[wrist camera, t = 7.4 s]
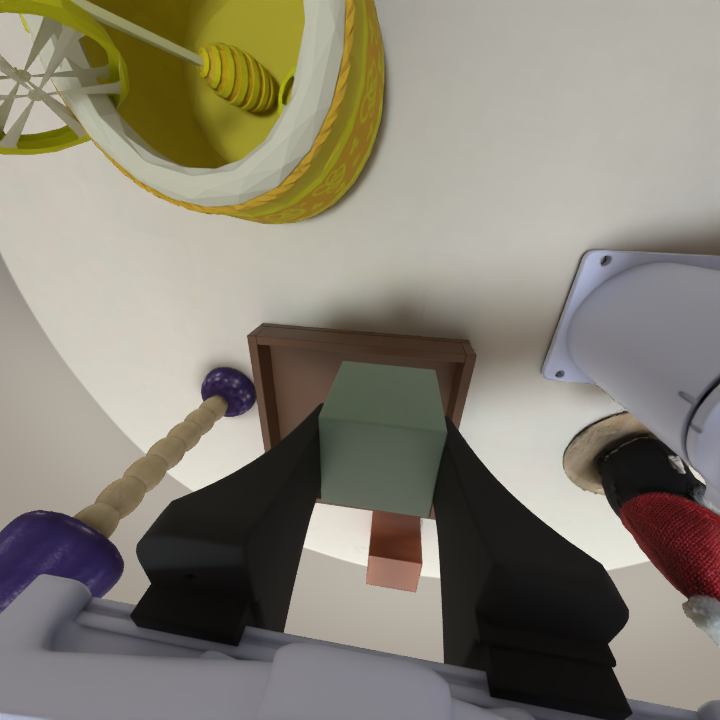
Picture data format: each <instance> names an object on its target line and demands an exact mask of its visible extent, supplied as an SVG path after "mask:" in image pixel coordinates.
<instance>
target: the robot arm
mask: <svg viewBox="0 0 720 720" xmlns="http://www.w3.org/2000/svg"><path fill="white" fill-rule="evenodd" d="M604 256H607V260H606V262H605V263H603V264H601V263H600V261H601V259H602V258H603V257H604ZM558 371H561V373H560V374H558V375H556V373H557V372H558ZM541 374H542V376H543V377H544V378H545V379H548V380H556V381H567V382H578V383H589V384H597V385H598V386H600V387H601V388H602V389H603V390H604V391H605V392H606V393H608V394H609V395H610V396H611V397H612V398H613V399H614V400H616V401H617V402H618V403H619V404H620V405H621V406H622V407H624V408H625V409H626V410H627V411H628V412H629V413H630V414H632V415H633V416H634V417H635V418H636V419H637V420H638V421H640V422H641V423H642V424H643V425H644V426H645V427H646V428H648V429H649V430H650V431H651V432H652V433H653V434H654V435H655V436H657V437H658V438H659V439H660V440H661V441H662V442H663V443H665V444H666V445H667V446H668V447H669V448H670V449H671V450H673V451H674V452H675V453H676V454H677V455H678V456H679V457H681V458H682V459H683V460H684V461H685V462H686V463H687V464H689V465H690V466H691V467H692V468H693V469H694V470H696V471H697V472H698V473H699V474H700V475H701V476H702V477H703V479H704V480H705V483H706V491H705V494H704V496H705V497H706V498H707V499H708V500H709V501H710V502H711V503H712V504H713V505H714V506H715V507H716V508H717V509H718V510H719V511H720V256H718V255H698V254H678V253H657V252H637V251H617V250H597V249H596V250H591V251H589V252H587V253H586V254H585V255H584V257H583V258H582V261H581V264H580V266H579V269H578V272H577V275H576V277H575V280H574V283H573V285H572V288H571V291H570V294H569V296H568V299H567V302H566V305H565V307H564V310H563V313H562V315H561V318H560V321H559V324H558V326H557V329H556V332H555V334H554V337H553V340H552V343H551V345H550V348H549V351H548V353H547V356H546V359H545V362H544V364H543V367H542V370H541ZM323 405H324V403H321V404H319V405H318V406H317V407H316V408H315V409H314V410H313V411H312V412H311V413H310V414H309V415H308V416H307V417H306V418H305V419H304V420H303V421H302V422H301V423H300V424H299V425H298V426H297V427H296V428H295V429H294V430H293V431H292V432H291V433H289V434H288V435H287V436H286V437H285V438H284V439H282V440H281V441H280V442H279V443H278V444H276V445H275V446H274V447H272V448H271V449H270V450H269V451H267V452H266V453H264V454H263V455H262V456H260V457H259V458H257V459H256V460H254V461H252V462H251V463H249V464H247V465H246V466H244V467H242V468H241V469H239V470H237V471H236V472H234V473H232V474H230V475H228V476H227V477H225V478H223V479H221V480H219V481H217V482H215V483H213V484H211V485H209V486H206V487H204V488H202V489H200V490H197V491H195V492H193V493H190V494H188V495H186V496H183V497H181V498H178V499H176V500H173V501H172V502H171V503H170V504H169V505H168V506H167V507H166V509H165V510H164V511H163V512H162V513H161V514H160V516H159V517H158V518H157V519H156V521H155V522H154V523H153V525H152V526H151V527H150V528H149V530H148V531H147V532H146V534H145V535H144V536H143V538H142V539H141V540H140V541H139V542H138V544H137V548H136V554H137V557H138V560H139V562H140V564H141V566H142V567H143V569H144V571H145V573H146V575H147V576H148V578H149V580H150V582H151V585H150V586H149V588H148V589H147V591H146V592H145V594H144V595H143V597H142V598H141V600H140V601H139V603H138V604H137V605H133V604H128V603H122V602H117V601H112V600H107V599H101V598H96V597H92V595H91V592H90V590H89V589H88V588H87V587H86V586H85V585H84V584H83V583H81V582H79V581H77V580H73V579H69V578H63V577H58V576H52V575H47V574H42V575H39V576H38V577H37V578H36V579H35V580H34V581H33V582H32V583H31V584H30V585H29V586H28V587H27V588H26V589H25V590H24V591H23V592H22V593H21V594H20V595H19V596H18V597H17V598H16V599H15V600H14V601H13V602H12V603H11V604H10V605H9V606H8V607H7V608H6V609H5V610H4V611H3V612H2V613H1V614H0V720H720V700H715V701H709V702H706V703H704V704H703V705H701V707H699V708H698V710H697V712H696V711H691V710H685V709H680V708H674V707H670V706H664V705H659V704H654V703H648V702H643V701H638V700H633V699H628V698H626V697H625V695H624V693H623V691H622V689H621V686H620V684H619V682H618V680H617V678H616V676H615V674H614V671H613V669H612V667H615V666H616V660H615V658H614V656H613V654H612V652H611V650H610V648H609V645H608V643H609V642H610V641H611V640H612V639H613V638H614V637H615V636H616V635H617V634H618V633H619V632H620V631H621V630H622V629H623V628H624V626H625V624H626V623H627V621H628V619H629V609H628V608H627V606H626V604H625V602H624V601H623V599H622V597H621V595H620V593H619V592H618V590H617V588H616V586H615V584H614V582H613V581H612V579H611V578H610V576H609V575H608V573H607V571H606V570H605V568H604V567H603V565H602V564H601V563H599V562H598V561H596V560H595V559H594V558H592V557H591V556H589V555H588V554H586V553H585V552H583V551H582V550H581V549H579V548H578V547H576V546H575V545H573V544H572V543H570V542H569V541H568V540H566V539H565V538H564V537H562V536H561V535H560V534H558V533H557V532H556V531H554V530H553V529H552V528H551V527H549V526H548V525H547V524H545V523H544V522H543V521H542V520H540V519H539V518H538V517H537V516H536V515H534V514H533V513H532V512H531V511H530V510H529V509H527V508H526V507H525V506H524V505H523V504H522V503H521V502H520V501H518V500H517V499H516V498H515V497H514V496H513V495H512V494H511V493H510V492H509V491H508V490H507V489H506V488H505V487H504V486H503V485H502V484H501V483H500V482H499V481H498V480H497V479H496V478H495V477H494V476H493V475H492V474H491V472H490V471H489V470H488V469H487V468H486V467H485V465H484V464H483V463H482V462H481V461H480V459H479V458H478V457H477V456H476V454H475V453H474V452H473V450H472V449H471V448H470V446H469V445H468V444H467V442H466V441H465V439H464V438H463V437H462V435H461V434H460V432H459V431H458V429H457V428H456V426H455V425H454V423H453V422H452V420H451V419H450V417H448V416H444V417H445V422H446V427H447V437H446V442H445V446H444V451H443V455H442V460H441V464H440V469H439V473H438V478H437V482H436V487H435V492H434V496H433V507H434V513H435V519H436V525H437V534H438V545H439V560H440V577H441V596H442V618H443V646H444V664H443V663H438V662H433V661H427V660H422V659H417V658H412V657H407V656H401V655H396V654H391V653H385V652H380V651H375V650H370V649H365V648H359V647H354V646H349V645H343V644H338V643H333V642H328V641H322V640H317V639H312V638H307V637H301V636H296V635H291V634H285V633H284V628H285V623H286V619H287V614H288V609H289V605H290V600H291V596H292V591H293V587H294V583H295V578H296V574H297V570H298V566H299V561H300V557H301V553H302V549H303V545H304V541H305V537H306V533H307V529H308V525H309V521H310V518H311V514H312V511H313V508H314V505H315V502H316V500H317V497H318V494H319V491H320V489H321V466H320V439H319V419H318V417H319V415H320V412H321V410H322V408H323Z"/></svg>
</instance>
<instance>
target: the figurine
mask: <svg viewBox="0 0 720 720" xmlns="http://www.w3.org/2000/svg"><path fill="white" fill-rule="evenodd" d="M615 415H616V414H614V415H613V416H612V417H611V416H610V417H611V418H609V419H606V420H604V421H602V422H599V423H597V424H595V425H593V426H592V427H590V428H588V429H587V430H585V431H584V432H582V433H581V434H580V435H579V436H578V437H577V438H576V439H575V440H573V442H572V443H571V444H570V445H569V447H568V449H567V451H566V453H565V456H564V470H565V472H566V474H567V476H568V478H569V479H570V480H571V481H572V482H573V483H574V484H576V485H577V486H579V487H581V489H582V488H583V489H582V490H584V489H585V490H584V491H586V490H587V491H590V492H593V493H594V494H601V495H605V496H606V498H607V500H608V502H609V504H610V506H611V508H612V509H613V510H614V512H615V513H616V515H617V516H618V517H619V518H620V519H621V521H622V524H623V525H624V526H625V528H626V529H627V530H628V531H629V532H630V533H631V534H632V535H633V537H634V539H635V541H636V542H637V544H638V545H639V547H640V548H641V549H642V551H643V552H644V553H645V554H646V555H647V557H648V558H649V559H650V560H651V562H652V563H653V564H654V566H655V567H656V568H657V569H658V570H659V571H660V572H661V573H662V574H663V575H664V577H665V578H666V579H667V580H668V581H669V582H670V583H671V584H672V585H673V586H674V587H675V588H676V589H677V590H678V591H680V592H681V593H682V594H683V595H684V596H686V597H687V598H688V601H687V602H685V603H683V605H682V606H683V610H684V613H685V614H686V616H687V617H689V618H691V619H692V621H693V622H694V623H695V625H696V626H697V627H699V628H700V629H702V630H704V631H705V632H706V633H707V634H708V635H709V636H710V638H711V639H712V640H713V641H714V642H715V643H716V645H717V646H718V647H719V648H720V511H719V510H718V509H717V508H716V507H715V506H714V505H713V504H712V503H711V502H710V501H709V500H708V499H707V498H706V497H705V496H704V494H705V491H706V485H704V484H703V483H702V482H700V481H699V480H697V479H696V478H695V477H694V475H693V474H692V472H691V471H690V469H689V464H687V463H686V462H685V461H684V460H683V459H682V458H681V457H679V456H678V455H677V454H676V453H675V452H674V451H673V450H671V449H670V448H669V447H668V446H667V445H666V444H665V443H663V442H662V441H661V440H660V439H659V438H658V437H657V436H655V435H654V434H653V433H652V432H651V431H650V430H649V429H648V428H646V427H645V426H644V425H643V424H642V423H641V422H640V421H638V420H637V419H636V418H635V417H634V416H633V415H632V414H630V413H629V412H625V413H624V412H623V413H620V414H618V416H615ZM614 416H615V417H614ZM586 428H587V427H586Z"/></svg>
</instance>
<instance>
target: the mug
mask: <svg viewBox="0 0 720 720" xmlns="http://www.w3.org/2000/svg"><path fill="white" fill-rule="evenodd" d="M4 12H8V13H19V14H20V17H21V19H22V22H23V24H24V27H25V30H26V31H27V32H28V33H30V35H31V37H32V40H33V42H34V45H33V47H32V50H31V53H30V55H29V58H28V61H27V64H26V66H25V69H24V71H23V70H20V69H19V70H17V68H15V69H14V68H13V67H12V66H11V65H10V64H9V63H8V62H7V61H6V60H5V59H4V58H3V57H2V56H1V55H0V71H2V72H3V73H5V74H6V75H8V76H0V80H1V79H9V78H12V79H14V80H15V81H17V84H16V85H15V87H14V88H13V89H12V91H11V92H10V94H9V95H0V100H5V101H4V102H3V104H2V105H1V106H0V154H12V155H34V154H42V153H50V152H57V151H60V150H63V149H66V148H69V147H72V146H75V145H78V144H81V143H84V142H87V141H90V140H91V139H92V141H93V142H94V143H95V145H96V146H97V147H98V148H99V149H100V150H101V151H102V152H103V153H104V154H105V156H106V157H107V158H108V159H109V160H110V161H111V162H112V163H113V164H114V165H115V166H116V167H117V168H119V170H120V171H121V172H122V173H123V174H124V175H125V176H127V177H129V178H130V179H132V180H133V181H134V182H135V183H136V184H137V185H139V186H140V187H142V188H143V189H145V190H146V191H148V192H151V193H153V194H154V195H156V196H157V197H158V198H161V199H164V200H166V201H168V202H170V203H173V204H175V205H177V206H182V207H184V208H186V209H188V210H193V211H197V212H201V213H207V214H218V215H220V214H223V215H227V216H231V217H236V218H240V219H245V220H249V221H254V222H259V223H263V224H282V223H293V222H297V221H301V220H304V219H308V218H311V217H313V216H315V215H317V214H318V213H320V212H322V211H323V210H325V209H327V208H329V207H330V206H332V205H334V204H335V203H336V202H337V201H338V200H339V199H340V198H341V197H342V196H343V195H344V194H345V193H346V192H347V190H348V189H349V188H350V187H351V186H352V185H353V184H354V183H355V182H356V180H357V178H358V176H359V174H360V173H361V171H362V169H363V167H364V165H365V163H366V162H367V160H368V158H369V156H370V154H371V152H372V148H373V145H374V141H375V138H376V135H377V131H378V128H379V125H380V121H381V118H382V105H383V92H384V79H385V71H384V53H383V43H382V38H381V33H380V28H379V23H378V18H377V13H376V8H375V4H374V1H373V0H0V13H4ZM38 54H39V57H40V59H41V61H42V64H43V66H44V69H45V71H46V72H45V74H39V75H31V76H30V74H29V72H27V71H26V70H27V69H28V68H29V66H30V65H31V64H32V62H33V61H34V59H35V58H36V57H37V55H38ZM11 69H12V70H13V71H15V72H13V71H12V70H11ZM30 77H43V79H42V82H41V84H40V87H39V88H38V87H37V86H35V85H34V84H32V83H31V82H29V79H31V78H30ZM49 78H50V79H51V81H52V83H53V84H54V86H55V88H56V90H57V91H58V92H52V93H45V92H44V91H42V90H41V89H42V88H43V86H44V85H45V84H46V82H47V81H48V80H49ZM24 82H28V83H29V84H30V85H31V86H32V87H33V88H34V89H35V90H31V89H30V88H29V87H28V86H27V85H26V84H25V83H24ZM19 84H21V85H23V86H24V87H26V88H27V89H29V90H30V91H29V92H30V93H29V94H28V95H16V92H17V90H18V87H19ZM54 94H59V95H60V96H61V97H62V99H63V101H64V103H65V104H66V106H67V107H65V106H64V105H63V104H61V103H60V102H58V101H57V100H55V99H54V98H52V97H51V96H50V95H54ZM27 96H29V98H30V99H32V101H31V103H30V104H29V105H28V107H27V108H26V109H25V110H24V112H23V113H22V114H21V116H20V117H19V118H18V120H17V121H16V122H15V124H14V125H13V126H12V127H11V129H10V130H9V131H8V133H7V134H5V133H4V131H3V129H4V126H5V123H6V120H7V118H8V115H9V112H10V109H11V106H12V104H13V101H14V98H20V97H27ZM44 99H45V100H44ZM39 100H40V101H41V100H42V101H43V102H44V103H45V104H46V105H47V106H49V107H50V108H51V109H52V110H53V111H54V112H55V113H56V114H57V115H58V116H59V117H60V118H61V119H62V120H63V121H64V122H65V123H66V124H67V126H64V127H62V128H60V129H56V130H52V131H47V132H43V133H38V134H28V135H21V132H22V130H23V127H24V125H25V122H26V120H27V118H28V115H29V113H30V110H31V108H32V105H33V103H34V101H39Z"/></svg>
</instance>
